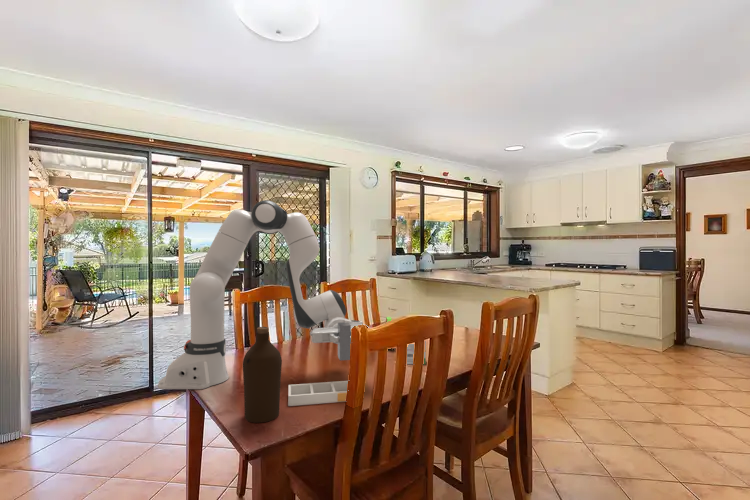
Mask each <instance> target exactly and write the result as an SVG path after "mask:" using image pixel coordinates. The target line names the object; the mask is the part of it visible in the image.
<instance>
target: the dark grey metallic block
mask: <svg viewBox="0 0 750 500" xmlns="http://www.w3.org/2000/svg"><path fill="white" fill-rule="evenodd" d="M338 336H339V343H338V344H337V357H338V359H339V361H350V344H351V345H352V342H351V325H350V324H349V323H348V322H343V323H338Z"/></svg>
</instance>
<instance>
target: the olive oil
mask: <svg viewBox="0 0 750 500" xmlns="http://www.w3.org/2000/svg"><path fill="white" fill-rule="evenodd" d="M269 330H270V329H269V327H268V326H258V327H257V328H256V341H255V342H254V344H253V345H252V346H251V347H250V348H249V349H248V350H247V352H245V354H244V357H243V361H242V374H243V396H244V397H243V398H244V399H243V400H244V419H245V420H246V421H247V422H250V423H255V424H257V423H258V424H259V423H260V424H261V423H268V422H270V421H273V420H275V419H277V418H278V416H279V414H280V402H281V401H280V400H281V383H282V382H281V379H282V366H283V365H282V364H283V360H282V355H281V353H280V351H279V350H278V348H277V347H275V345H274V344H273V343H272V342H271V341H270V332H269Z"/></svg>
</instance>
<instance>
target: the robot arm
mask: <svg viewBox="0 0 750 500" xmlns="http://www.w3.org/2000/svg"><path fill="white" fill-rule="evenodd" d="M255 233H258V234H265V235H275V234H277V233H280V234H281V235H282V236H283V238H284V240H285V242H286V244H287V246H288V247H287V248H288V250H289V258H288V260H287V261H286V263H285V269H286V274H287V280H288V285H289V291H290V295H291V300H292V304H293V316H294V320H295V323H297V325H298V327H300V328H303V329H307V330H309V329H311V328H312V327H315V325H316V326H317V324H320V323H322V322H324V323H323V326H324V327H315V328H313V329H312V331H309V335H310V336H311V342H312V343H314V344H320V343H321V344H322V343H333V344H336V345H338V343H339V336H338V323H343V322H348V323H349V324H350V325H351V329H352V328H353V327H354V326H358V325H362V324H363V325H366V326H367V327H368V328H370V326H368V325H367V324H365V323H364V321H362V320H354V319H353V320H352V319H349V318H346V314H347V308H346V305H345V303H344V301H343V298H342V297H341V295H340V294H339V293H338V292H336V291H335V290H332V289H329V290H327V291H324V292H322V293H320V294H318V295H315V296H313V297H311V298H308V299H304V297H303V296H304V295H303V292H302V288H301V287H302V286H301V282H300V277H301V275H302V273H303V271H304V270H305V269H306V268H308V267H309V266H310V265H311V264H312V263H313V262H314V261H315V260H317V259H316V258H317V257H318V255H319V252H320V245H319V242H318V239H317V236H316V234H315V231H314V229H313V227H312V225H311V224H310V221H309V220H308V219H307V217H306V215H304V214H303V212H297V211H296V212H291V213H288V212H287V211H286V210H285V209H284V208H283V207H281V206H280V205H279V204H277V202H274V201H272V200H269V199H268V200H267V199H264V200H259V201H258V202H256V203H255V205H253V206H252V209H251V211H247V210H245V209H238V208H237V209H234V210H232V211H230V213H229V214H228V215H227V217H226V218H225V219H224V220H223V222H222V224H221V226H220V227H219V229H218V231H217V233H216V235H215V237H214V239H213V240H212V243H211V245H210V246H209V248H208V251H207V252H206V254H205V256H204V258H203V260H202V263H201V265H200V266H199V269H198V271H197V272H196V275H195V276H194V278H193V279H192V280H191V282H190V285H189V310H190V311H189V313H190V339H188V340H187V341H185V344H184V345H183V350H184V352H183V353H182V354H181V355H180V356H178V357H177V358H176V359H175V360H173V361H172V362H171V363H170V364H169V365H168V367H167V369H166V372H165V376H164V377H162V378H161V379H160V380H159V382H158V383H157V387H158V390H202V389H203V390H204V389H207V388H209V387H211V386H215V385H219V384H221V383H224V382H225V381H227V380H228V379H229V378H230V376H229V372H228V368H227V364H226V354H227V353H226V352H227V350H226V349H227V343H226V342H227V341H226V338H225V294H226V293H225V288H226V286H227V285H228V282H229V280H230V278H231V277H232V275H233V273H234V271H235V270H236V267H237V266H238V263H239V262H240V260H241V258H242V255H243V254H244V253H245V252H244V251H245V250H246V248H247V246H248V244H249V242H250V240H251V238H252V236H253V235H254V234H255Z"/></svg>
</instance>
